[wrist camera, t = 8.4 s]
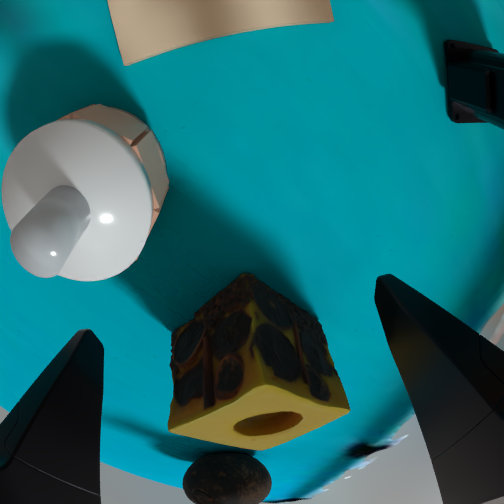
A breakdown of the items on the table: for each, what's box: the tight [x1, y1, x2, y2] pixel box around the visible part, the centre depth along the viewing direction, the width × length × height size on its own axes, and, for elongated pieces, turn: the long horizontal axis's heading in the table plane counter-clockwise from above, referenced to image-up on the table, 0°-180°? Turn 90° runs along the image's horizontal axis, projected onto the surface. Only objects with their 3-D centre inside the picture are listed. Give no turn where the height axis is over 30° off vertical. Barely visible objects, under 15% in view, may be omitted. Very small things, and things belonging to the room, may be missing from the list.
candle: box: [168, 273, 350, 450], centre depth 23 cm, size 10×10×10 cm
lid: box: [2, 118, 154, 281], centre depth 12 cm, size 9×9×4 cm
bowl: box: [56, 104, 169, 264], centre depth 15 cm, size 9×9×4 cm
